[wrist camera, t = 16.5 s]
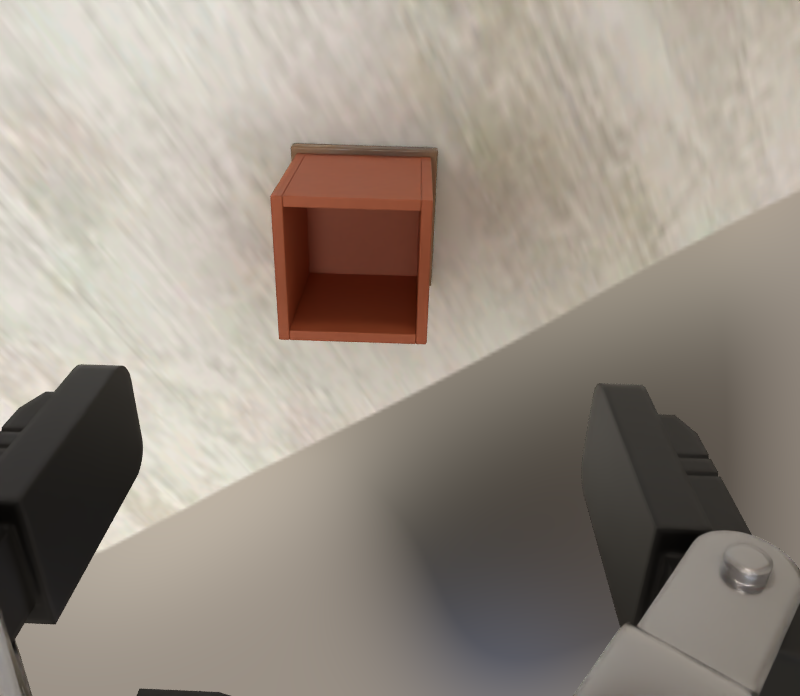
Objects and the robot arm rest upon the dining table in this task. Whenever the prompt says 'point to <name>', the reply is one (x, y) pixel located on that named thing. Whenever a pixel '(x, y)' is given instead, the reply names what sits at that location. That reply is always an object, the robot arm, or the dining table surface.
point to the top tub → (353, 248)
